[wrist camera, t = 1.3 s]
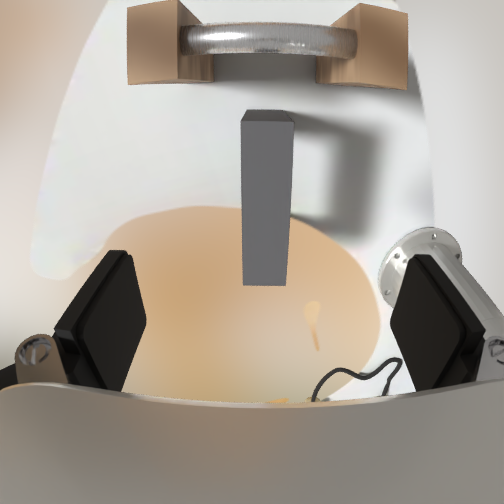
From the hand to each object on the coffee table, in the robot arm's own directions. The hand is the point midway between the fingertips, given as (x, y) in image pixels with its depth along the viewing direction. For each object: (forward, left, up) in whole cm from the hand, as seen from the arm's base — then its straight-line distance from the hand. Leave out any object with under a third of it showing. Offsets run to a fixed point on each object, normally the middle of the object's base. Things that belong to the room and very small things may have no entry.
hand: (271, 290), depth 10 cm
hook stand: (+9, 0, -24) cm, 26 cm away
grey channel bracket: (-3, 0, -24) cm, 24 cm away
